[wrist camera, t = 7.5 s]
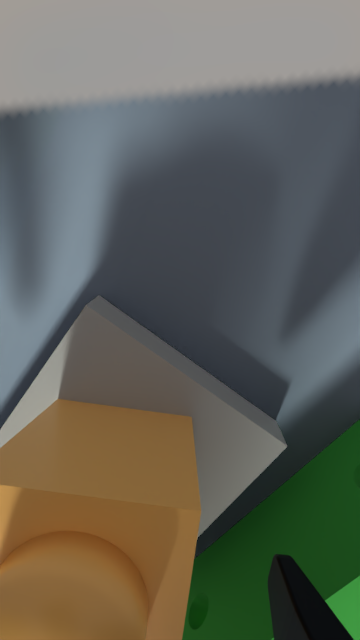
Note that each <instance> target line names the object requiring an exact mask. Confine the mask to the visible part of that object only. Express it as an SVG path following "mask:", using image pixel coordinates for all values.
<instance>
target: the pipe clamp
mask: <svg viewBox="0 0 360 640" xmlns="http://www.w3.org/2000/svg"><path fill="white" fill-rule="evenodd" d="M275 554H283V555H289V556H291V557H292V558H293V559H294V560H295V562H296V563H297V564H298V566H299V567H300V568H301V570H302V571H303V572H304V574H305V575H306V576H307V578H308V579H309V580H310V582H311V583H312V584H313V586H314V587H315V588H316V590H317V591H318V592H319V594H320V595H321V596H322V598H323V599H324V600H325V602H326V603H327V604H328V606H329V607H330V608H331V610H332V611H333V612H334V614H335V615H336V616H337V618H338V619H339V620H340V622H341V623H342V624H343V626H344V627H345V628H346V630H347V631H348V632H349V634H350V635H351V636H352V638H353V639H354V640H360V419H359V420H358V421H357V422H356V423H355V424H353V425H352V426H351V427H350V428H349V429H348V430H346V431H345V432H344V433H343V434H342V435H340V436H339V437H338V438H337V439H336V440H335V441H333V442H332V443H331V444H330V445H329V446H327V447H326V448H325V449H324V450H323V451H322V452H320V453H319V454H318V455H317V456H316V457H314V458H313V459H312V460H311V461H310V462H309V463H307V464H306V465H305V466H304V467H303V468H302V469H300V470H299V471H298V472H297V473H296V474H294V475H293V476H292V477H291V478H290V479H289V480H287V481H286V482H285V483H284V484H283V485H281V486H280V487H279V488H278V489H277V490H276V491H274V492H273V493H272V494H271V495H270V496H268V497H267V498H266V499H265V500H264V501H263V502H261V503H260V504H259V505H258V506H257V507H255V508H254V509H253V510H252V511H251V512H250V513H248V514H247V515H246V516H245V517H244V518H243V519H241V520H240V521H239V522H238V523H237V524H235V525H234V526H233V527H232V528H231V529H230V530H228V531H227V532H226V533H225V534H224V535H222V536H221V537H220V538H219V539H218V540H217V541H215V542H214V543H213V544H212V545H211V546H209V547H208V548H207V549H206V550H205V551H204V552H202V553H201V554H200V555H199V556H198V557H196V558H195V559H194V563H193V570H192V576H191V583H190V590H189V596H188V603H187V610H186V616H185V623H184V630H183V637H182V640H274V635H273V627H272V619H271V611H270V602H269V594H268V575H269V571H270V567H271V564H272V560H273V557H274V555H275Z"/></svg>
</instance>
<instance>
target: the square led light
mask: <svg viewBox="0 0 360 640" xmlns="http://www.w3.org/2000/svg"><path fill="white" fill-rule="evenodd" d="M200 516H201V504H200V494H199V484H198V474H197V464H196V454H195V444H194V434H193V424H192V417H190V416H182V415H175V414H167V413H160V412H152V411H145V410H137V409H130V408H123V407H115V406H108V405H100V404H93V403H85V402H78V401H71V400H63V399H57V400H56V401H55V402H54V403H52V404H51V405H50V406H49V407H48V408H47V409H45V410H44V411H43V412H42V413H41V414H40V415H38V416H37V417H36V418H35V419H34V420H33V421H31V422H30V423H29V424H28V425H27V426H26V427H24V428H23V429H22V430H21V431H20V432H18V433H17V434H16V435H15V436H14V437H13V438H11V439H10V440H9V441H8V442H7V443H6V444H4V445H3V446H2V447H1V448H0V640H182V637H183V630H184V623H185V616H186V610H187V603H188V596H189V590H190V583H191V576H192V570H193V563H194V556H195V550H196V543H197V536H198V530H199V523H200Z"/></svg>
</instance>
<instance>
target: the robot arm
mask: <svg viewBox="0 0 360 640" xmlns="http://www.w3.org/2000/svg"><path fill="white" fill-rule="evenodd" d="M268 594H269V602H270V611H271V619H272V627H273V635H274V640H354V639H353V638H352V636H351V635H350V634H349V632H348V631H347V630H346V628H345V627H344V626H343V624H342V623H341V622H340V620H339V619H338V618H337V616H336V615H335V614H334V612H333V611H332V610H331V608H330V607H329V606H328V604H327V603H326V602H325V600H324V599H323V598H322V596H321V595H320V594H319V592H318V591H317V590H316V588H315V587H314V586H313V584H312V583H311V582H310V580H309V579H308V578H307V576H306V575H305V574H304V572H303V571H302V570H301V568H300V567H299V566H298V564H297V563H296V562H295V560H294V559H293V558H292V557H291V556H289V555H283V554H275V555H274V557H273V560H272V564H271V567H270V571H269V575H268Z"/></svg>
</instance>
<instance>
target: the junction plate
mask: <svg viewBox="0 0 360 640" xmlns="http://www.w3.org/2000/svg"><path fill="white" fill-rule="evenodd" d="M57 399H63V400H71V401H78V402H85V403H93V404H100V405H108V406H115V407H123V408H130V409H137V410H145V411H152V412H160V413H167V414H175V415H182V416H190V417H192V424H193V434H194V444H195V454H196V464H197V474H198V484H199V494H200V504H201V516H200V523H199V530H198V536H197V538H198V537H199V536H200V535H201V534H202V533H203V532H204V531H205V530H206V529H207V528H208V527H209V526H210V525H211V524H212V523H213V522H214V520H215V519H216V518H217V517H218V516H219V515H220V514H221V513H222V512H223V511H224V510H225V509H226V508H227V507H228V506H229V505H230V504H231V503H232V502H233V501H234V500H235V499H236V498H237V497H238V496H239V495H240V494H241V493H242V492H243V491H244V490H245V489H246V488H247V487H248V486H249V485H250V484H251V483H252V482H253V481H254V480H255V479H256V478H257V477H258V476H259V475H260V474H261V473H262V472H263V471H264V470H265V469H266V468H267V467H268V466H269V465H270V464H271V463H272V462H273V461H274V460H275V459H276V458H277V457H278V456H279V455H280V454H281V453H282V451H283V450H284V449H285V448H286V447H287V444H286V442H285V439H284V437H283V435H282V433H281V430H280V428H279V426H278V424H277V422H276V421H275V420H274V419H273V418H271V417H270V416H268V415H267V414H266V413H264V412H263V411H261V410H260V409H258V408H257V407H256V406H254V405H253V404H251V403H250V402H249V401H247V400H246V399H244V398H243V397H242V396H240V395H239V394H237V393H236V392H235V391H233V390H232V389H230V388H229V387H228V386H226V385H225V384H223V383H222V382H220V381H219V380H218V379H216V378H215V377H213V376H212V375H211V374H209V373H208V372H206V371H205V370H204V369H202V368H201V367H199V366H198V365H197V364H195V363H194V362H192V361H191V360H190V359H188V358H187V357H185V356H184V355H182V354H181V353H180V352H178V351H177V350H175V349H174V348H173V347H171V346H170V345H168V344H167V343H166V342H164V341H163V340H161V339H160V338H159V337H157V336H156V335H154V334H153V333H152V332H150V331H149V330H147V329H146V328H144V327H143V326H142V325H140V324H139V323H137V322H136V321H135V320H133V319H132V318H130V317H129V316H128V315H126V314H125V313H123V312H122V311H121V310H119V309H118V308H116V307H115V306H114V305H112V304H111V303H109V302H108V301H106V300H105V299H104V298H102V297H101V296H99V295H98V296H97V297H96V298H94V299H93V300H92V301H90V302H89V303H88V304H86V306H85V307H84V308H83V310H82V311H81V313H80V314H79V316H78V317H77V319H76V320H75V322H74V323H73V324H72V326H71V327H70V329H69V330H68V332H67V333H66V335H65V336H64V338H63V339H62V340H61V342H60V343H59V345H58V346H57V348H56V349H55V351H54V352H53V354H52V355H51V356H50V358H49V359H48V361H47V362H46V364H45V365H44V367H43V368H42V370H41V371H40V372H39V374H38V375H37V377H36V378H35V380H34V381H33V383H32V384H31V386H30V387H29V388H28V390H27V391H26V393H25V394H24V396H23V397H22V399H21V400H20V402H19V403H18V405H17V406H16V407H15V409H14V410H13V412H12V413H11V415H10V416H9V418H8V419H7V421H6V422H5V423H4V425H3V426H2V428H1V429H0V448H1V447H2V446H3V445H4V444H6V443H7V442H8V441H9V440H10V439H11V438H13V437H14V436H15V435H16V434H17V433H18V432H20V431H21V430H22V429H23V428H24V427H26V426H27V425H28V424H29V423H30V422H31V421H33V420H34V419H35V418H36V417H37V416H38V415H40V414H41V413H42V412H43V411H44V410H45V409H47V408H48V407H49V406H50V405H51V404H52V403H54V402H55V401H56V400H57Z"/></svg>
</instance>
